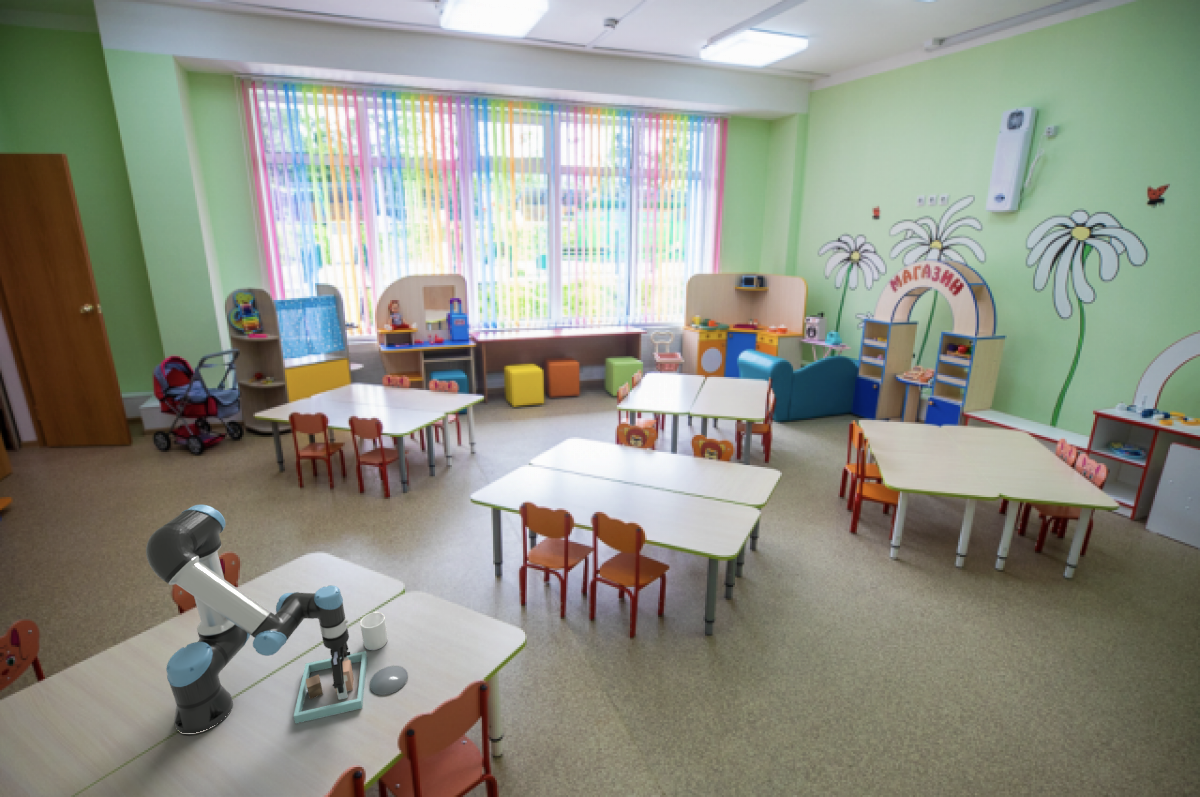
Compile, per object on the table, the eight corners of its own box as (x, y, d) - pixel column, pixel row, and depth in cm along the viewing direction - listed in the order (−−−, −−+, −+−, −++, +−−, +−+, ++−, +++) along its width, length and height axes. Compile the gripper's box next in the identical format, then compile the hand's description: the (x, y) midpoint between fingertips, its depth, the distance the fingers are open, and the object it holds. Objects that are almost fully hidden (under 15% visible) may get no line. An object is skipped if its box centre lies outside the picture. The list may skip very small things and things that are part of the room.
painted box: (336, 694, 188) (332, 674, 185) (337, 682, 193) (334, 663, 190) (352, 690, 189) (348, 671, 187) (353, 678, 194) (350, 659, 191)
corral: (295, 723, 177) (293, 716, 176) (307, 670, 198) (305, 663, 197) (362, 708, 183) (360, 700, 182) (367, 657, 203) (366, 650, 202)
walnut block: (309, 699, 186) (307, 687, 184) (308, 691, 189) (305, 679, 188) (323, 694, 188) (320, 682, 186) (321, 686, 191) (318, 674, 190)
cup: (361, 652, 205) (358, 629, 202) (368, 629, 217) (364, 607, 213) (386, 649, 207) (382, 626, 204) (391, 626, 218) (387, 604, 215)
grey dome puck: (368, 698, 186) (368, 697, 186) (371, 671, 197) (371, 670, 197) (407, 689, 189) (407, 688, 189) (407, 663, 200) (407, 662, 200)
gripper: (343, 653, 175) (353, 709, 182) (350, 606, 195) (359, 658, 202) (316, 659, 173) (328, 715, 180) (326, 610, 193) (336, 663, 200)
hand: (344, 685), depth 191 cm, fingers open, 10 cm apart
